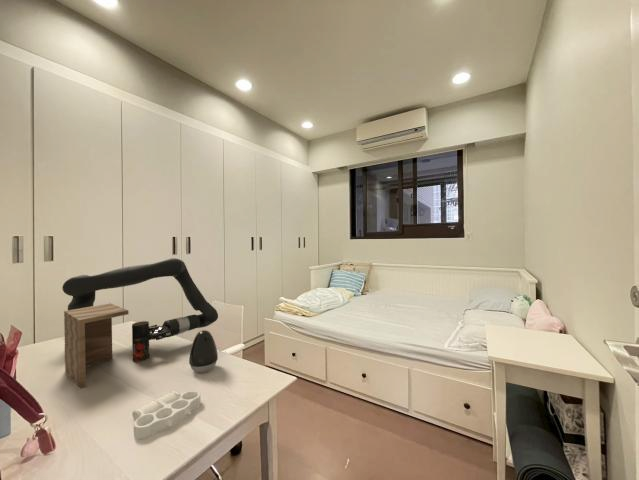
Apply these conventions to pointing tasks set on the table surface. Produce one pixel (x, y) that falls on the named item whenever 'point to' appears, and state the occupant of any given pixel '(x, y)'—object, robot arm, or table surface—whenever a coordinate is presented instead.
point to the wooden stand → (88, 338)
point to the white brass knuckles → (164, 413)
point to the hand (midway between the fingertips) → (137, 337)
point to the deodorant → (139, 347)
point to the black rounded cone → (203, 352)
